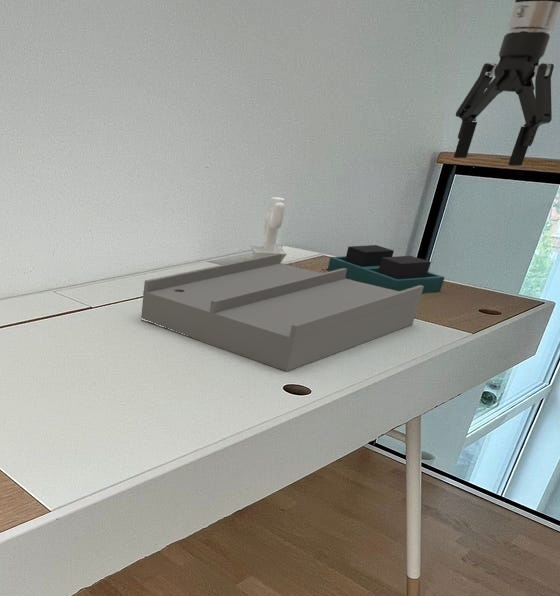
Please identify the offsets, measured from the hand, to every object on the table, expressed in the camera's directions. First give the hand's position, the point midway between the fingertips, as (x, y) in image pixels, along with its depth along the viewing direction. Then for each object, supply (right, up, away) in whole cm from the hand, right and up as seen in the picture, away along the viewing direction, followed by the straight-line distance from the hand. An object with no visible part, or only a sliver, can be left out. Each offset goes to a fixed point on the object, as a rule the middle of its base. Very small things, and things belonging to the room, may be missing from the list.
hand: (486, 161), depth 136 cm
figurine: (-38, -12, +25) cm, 47 cm away
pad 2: (-12, -20, +12) cm, 26 cm away
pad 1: (-16, -14, +20) cm, 29 cm away
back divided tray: (-14, -18, +16) cm, 28 cm away
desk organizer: (-46, -37, -13) cm, 60 cm away
